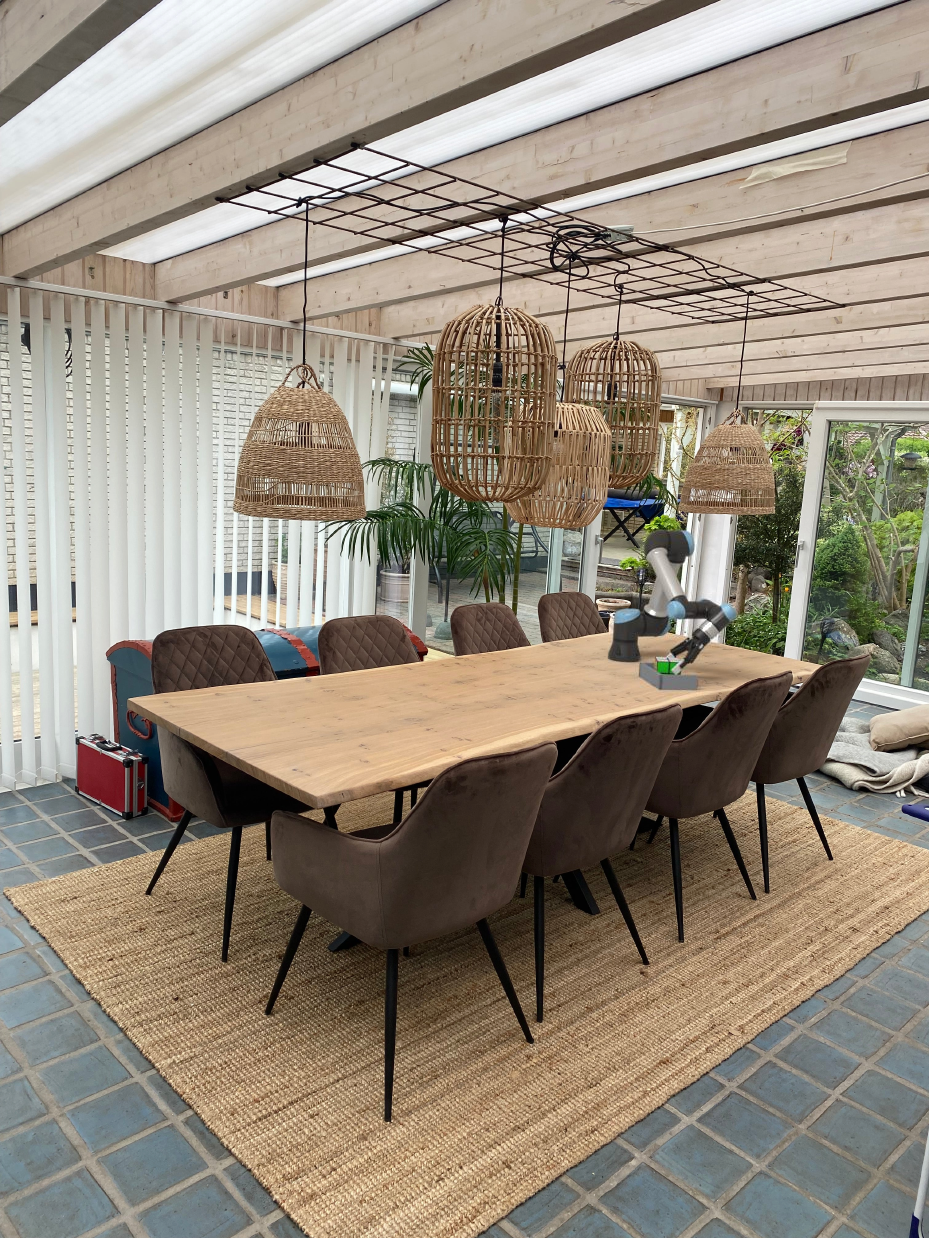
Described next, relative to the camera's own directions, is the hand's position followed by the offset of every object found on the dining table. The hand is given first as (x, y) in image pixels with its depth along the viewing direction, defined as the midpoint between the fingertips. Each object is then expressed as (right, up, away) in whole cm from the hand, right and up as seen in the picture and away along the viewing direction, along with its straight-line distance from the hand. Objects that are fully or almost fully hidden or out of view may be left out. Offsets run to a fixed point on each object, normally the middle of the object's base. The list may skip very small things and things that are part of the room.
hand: (667, 669), depth 368 cm
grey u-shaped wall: (0, -6, +1) cm, 6 cm away
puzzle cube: (0, -6, +1) cm, 6 cm away
